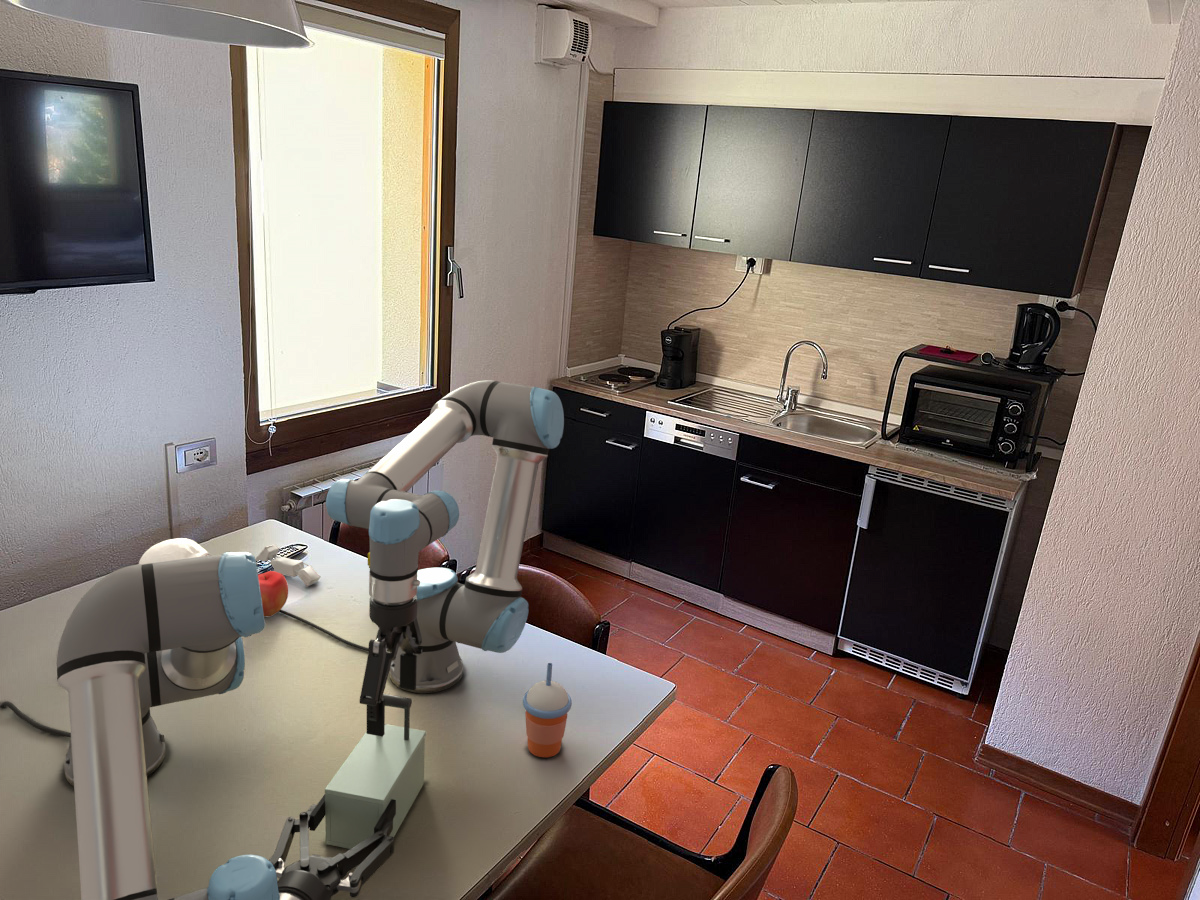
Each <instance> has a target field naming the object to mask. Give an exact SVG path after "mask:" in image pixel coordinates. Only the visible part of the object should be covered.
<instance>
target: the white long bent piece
mask: <svg viewBox="0 0 1200 900" xmlns="http://www.w3.org/2000/svg"><path fill="white" fill-rule="evenodd" d="M280 549H281V547H279V546H278V545H277V544H272V545H266V546H264V547H263V549H262V550H261V551H260V552H259V554H258V555H257V556H256V557H255V559H256V561H259V560H262V561H268V560H271V562H270V563H269V564H271V565H272V566H273V568H274V571H275V572H278V573H281V574H282V575H283V576H288V577H292V578H296V577H298V578H299V579H300V580H301V582H303V584H304V585H305V587H309V586H312V585H314V584H316V583H318V582H319V580H320V579H321V578H322V577H321V575H320V574H319V573H318V572H317V570H315V569H314V568H313V566H312V565H310V564H309V565H308V564H307V563H305V562H304V561H303V560H301V559H300V560H299V559H292V558H289V557H285V556H278V553H279V551H280ZM273 558H274V559H273ZM272 559H273V560H272ZM305 566H306V567H305ZM270 571H271V570H270Z"/></svg>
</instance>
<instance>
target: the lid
mask: <svg viewBox="0 0 1200 900" xmlns="http://www.w3.org/2000/svg"><path fill="white" fill-rule="evenodd" d="M382 698H384V699H385V707H391V708H397V709H403V710H404V718H403V726H399V725H393V724H389V723H385V734H384V735H383V737H382V736H376V735H371V734H367V730H366V731H365V732H364V733H363V735H362V737H361V738H360V740H359V741H358V742H357V744H356V745H355V746H354V748H353V749H352V750H351V752H350V753H349V755H348V756H347V757H346V759H345V760H344V762H343V763H342V765H341V766H340V767H339V768H338V770H337V771H336V773H335V774H334V775H333V777H332V778H331V779H330V781H329V783H328V784H327V785H326V787H325V788H324V794H325V793H326V794H331V795H336V796H341V797H347V798H352V799H357V800H362V801H368V802H373V803H378V804H384V803H385V801H386V800H387V798H388V797H389V795H390V793H391V792H392V790H393V788H394V787H395V785H396V783H397V782H398V780H399V778H400V777H401V775H402V774H403V772H404V770H405V769H406V767H407V765H408V764H409V762H410V760H411V759H412V757H413V755H414V754H415V752H416V751H417V749H418V747H419V746H420V744H421V742H422V741H423V739H424V737H425V738H426V736H427V731H426V730H422V729H416V728H410V726H411V725H410V724H411V723H410V722H411V721H410V717H411V707H412V705H413V699H412V698H411V697H406V696H399V695H393V694H389V693H383V697H382Z"/></svg>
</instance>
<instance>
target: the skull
mask: <svg viewBox="0 0 1200 900" xmlns="http://www.w3.org/2000/svg"><path fill="white" fill-rule="evenodd" d="M210 555H211V554H210V553H209V551H207V550H206V549H205V548H204V547H202V546H201V545H200V544H199V543H197V541H195V540H193V539H189V538H186V537H185V538H183V537H177V538H176V537H175V538H169V539H166V540H163V541H161V542H158V543H156V544H154V545H152V546H150V547H149V548H148V549H147V550H146V551H145V552H144V553H143V554H142V556H141V557H140V559H139V561H138V564H141V565H142V564H150V563H157V562H164V561H172V560H180V559H187V558H195V557H202V556H210Z"/></svg>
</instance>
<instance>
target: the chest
mask: <svg viewBox="0 0 1200 900" xmlns="http://www.w3.org/2000/svg"><path fill="white" fill-rule="evenodd" d="M425 743H426V736H425V737H424V739H423V741H422V742H421V744H420V746H419V747H418V749H417V751H416V752H415V754H414V755H413V757H412V759H411V760H410V762H409V764H408V765H407V767H406V769H405V770H404V772H403V774H402V775H401V777H400V778H399V780H398V782H397V783H396V785H395V787H394V788H393V790H392V792H391V793H390V795H389V797H388V798H387V800H386V801H385V803H384V804H378V803H373V802H368V801H362V800H357V799H352V798H347V797H341V796H336V795H331V794H326V793H325V792H324V794H325V816H324V818H325V819H324V821H325V823H324V824H325V845H328V846H332V847H333V846H334V847H339V848H343V849H348V850H350V849H351V848H353V847H355V846H356V845H358V844H359V843H361V842H362V841H364V840H365V839H367V838H369V837H370V836H372V835H373V834H374V827H375V825H376V824H377V822H378V820H379V819H380V817H381V815H382V814H383V812H384V811H385V809H386V807H387V806H388V804H389V802H390V801H391V799H394V800H396V815H395V816H394V818H393V830H392V832H391V834H390V835H389V836H393V837H394V838H395V836H396V834H397V832H398V830H399V829H400V828H401V825H402V823H403V822H404V820H405V818H406V817H407V814H408V812H409V811H410V809H411V807H412V806H413V804H414V802H415V800H416V799H417V797H418V795H419V794H420V791H421V789H422V788H423V786H424V784H425V754H426V753H425V750H426V749H425V747H426V746H425V745H426V744H425Z"/></svg>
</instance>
